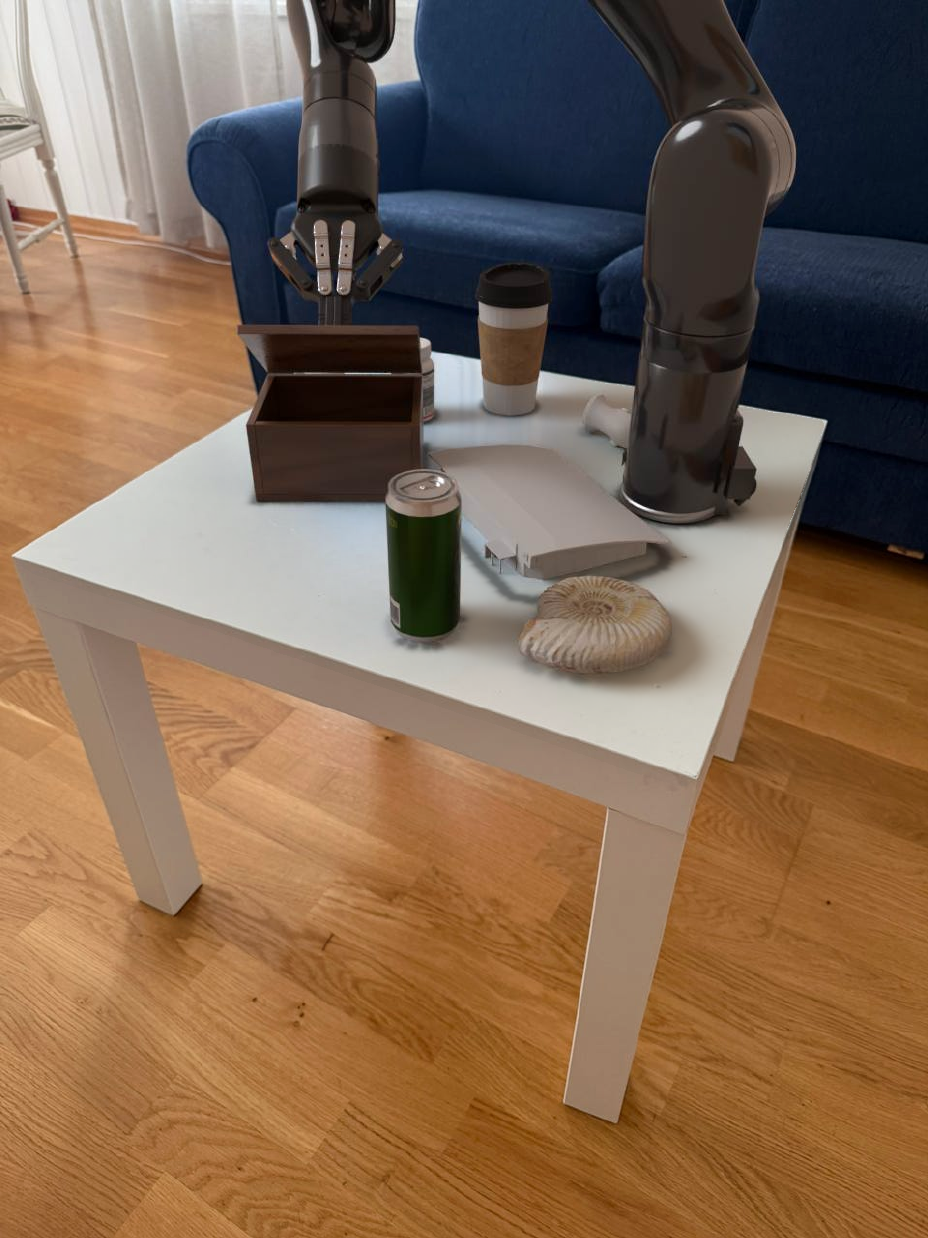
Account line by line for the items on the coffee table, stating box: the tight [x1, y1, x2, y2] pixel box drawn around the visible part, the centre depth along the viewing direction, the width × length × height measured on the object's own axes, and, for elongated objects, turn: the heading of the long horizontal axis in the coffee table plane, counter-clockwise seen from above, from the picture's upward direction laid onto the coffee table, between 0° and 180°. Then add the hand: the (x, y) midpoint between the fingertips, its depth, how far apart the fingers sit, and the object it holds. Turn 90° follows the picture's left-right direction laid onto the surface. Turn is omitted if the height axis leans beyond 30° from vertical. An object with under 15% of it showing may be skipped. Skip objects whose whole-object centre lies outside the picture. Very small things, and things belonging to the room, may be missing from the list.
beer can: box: [384, 468, 463, 644], centre depth 66 cm, size 5×5×12 cm
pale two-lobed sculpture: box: [582, 393, 632, 449], centre depth 97 cm, size 4×8×5 cm
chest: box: [245, 373, 425, 503], centre depth 89 cm, size 13×16×8 cm
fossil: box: [518, 575, 673, 674], centre depth 68 cm, size 12×5×10 cm
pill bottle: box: [390, 337, 435, 423], centre depth 100 cm, size 5×5×8 cm
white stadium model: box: [428, 444, 672, 581], centre depth 82 cm, size 15×23×4 cm, turn 25°
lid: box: [236, 324, 423, 374], centre depth 84 cm, size 13×16×1 cm
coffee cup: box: [474, 262, 554, 417], centre depth 101 cm, size 8×8×15 cm
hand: (334, 339), depth 83 cm, fingers closed
